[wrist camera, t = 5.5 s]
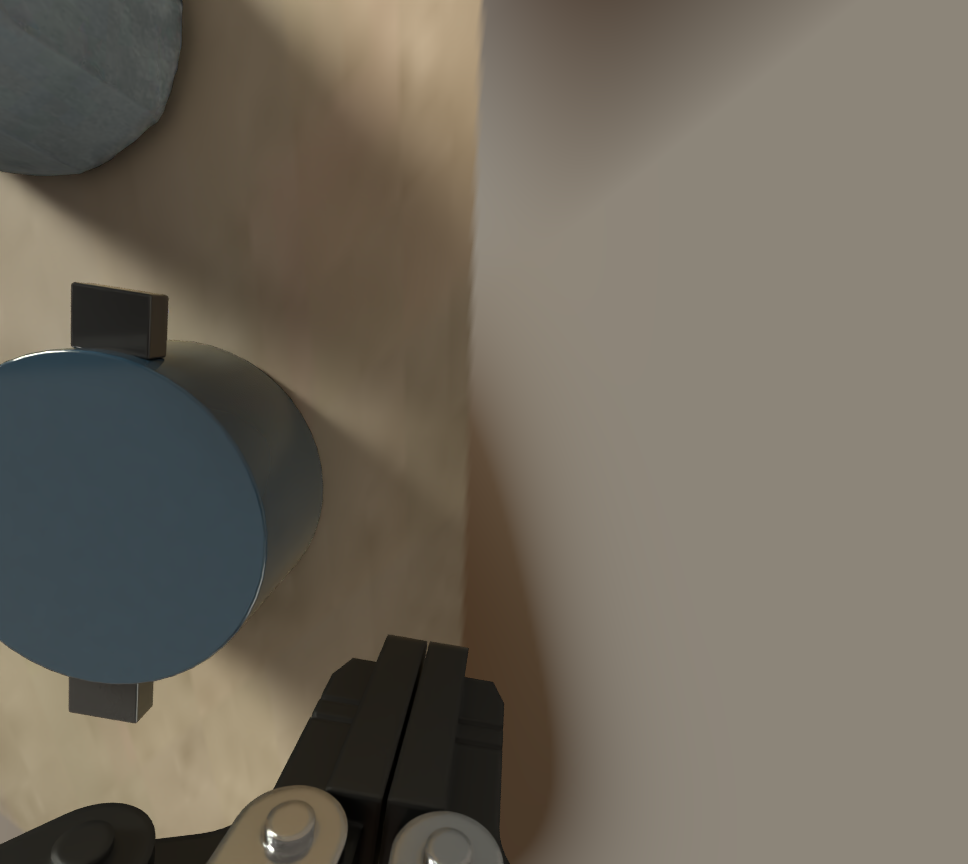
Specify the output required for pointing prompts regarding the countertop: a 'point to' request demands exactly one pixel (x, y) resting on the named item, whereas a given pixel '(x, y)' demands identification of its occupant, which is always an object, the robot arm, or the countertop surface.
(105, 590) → the pot
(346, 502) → the countertop surface
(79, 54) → the moka pot
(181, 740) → the countertop surface
